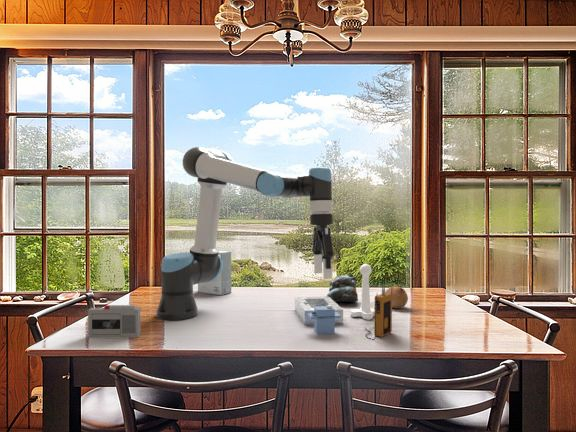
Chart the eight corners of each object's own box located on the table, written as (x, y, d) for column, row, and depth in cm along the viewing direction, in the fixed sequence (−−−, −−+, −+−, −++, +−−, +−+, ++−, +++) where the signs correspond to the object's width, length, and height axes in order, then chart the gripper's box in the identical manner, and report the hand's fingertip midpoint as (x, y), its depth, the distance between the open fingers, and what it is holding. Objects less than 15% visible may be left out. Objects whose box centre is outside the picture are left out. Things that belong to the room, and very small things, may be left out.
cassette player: (88, 337, 136) (88, 306, 136) (91, 335, 139) (91, 304, 139) (137, 337, 137) (137, 306, 136) (140, 335, 139) (140, 304, 139)
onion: (404, 316, 175) (413, 296, 171) (382, 310, 175) (390, 290, 171) (400, 303, 184) (409, 284, 180) (379, 297, 184) (388, 278, 180)
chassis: (304, 324, 152) (304, 310, 152) (294, 309, 173) (294, 297, 173) (343, 323, 154) (343, 309, 154) (328, 308, 175) (328, 296, 175)
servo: (310, 334, 141) (310, 307, 140) (308, 330, 145) (308, 304, 145) (340, 333, 142) (340, 306, 142) (336, 329, 146) (337, 303, 146)
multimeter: (370, 325, 152) (370, 268, 151) (396, 330, 145) (397, 271, 145) (348, 334, 140) (349, 273, 140) (376, 341, 134) (376, 277, 133)
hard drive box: (232, 293, 206) (232, 251, 206) (221, 295, 200) (221, 253, 199) (207, 289, 214) (207, 249, 214) (197, 292, 208) (196, 251, 207)
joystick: (378, 314, 166) (378, 263, 166) (383, 319, 159) (384, 265, 158) (349, 314, 166) (350, 263, 165) (353, 320, 158) (354, 266, 158)
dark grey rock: (319, 302, 186) (320, 272, 192) (336, 309, 193) (336, 279, 200) (348, 297, 176) (348, 265, 183) (364, 304, 184) (364, 274, 190)
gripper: (342, 212, 134) (343, 280, 134) (323, 213, 158) (324, 270, 158) (318, 213, 133) (320, 281, 133) (303, 213, 157) (304, 271, 157)
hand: (322, 275), depth 146 cm, fingers open, 13 cm apart
